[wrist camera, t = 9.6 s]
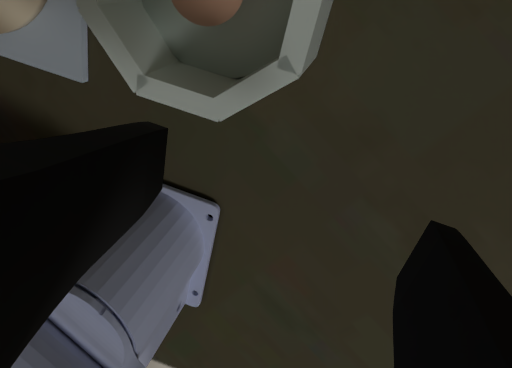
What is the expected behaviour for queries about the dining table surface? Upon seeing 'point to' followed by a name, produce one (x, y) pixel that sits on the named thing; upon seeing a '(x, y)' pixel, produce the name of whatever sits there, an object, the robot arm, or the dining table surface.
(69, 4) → the mat
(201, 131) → the dining table surface
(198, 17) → the ball
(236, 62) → the bowl
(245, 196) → the dining table surface
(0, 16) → the lid
